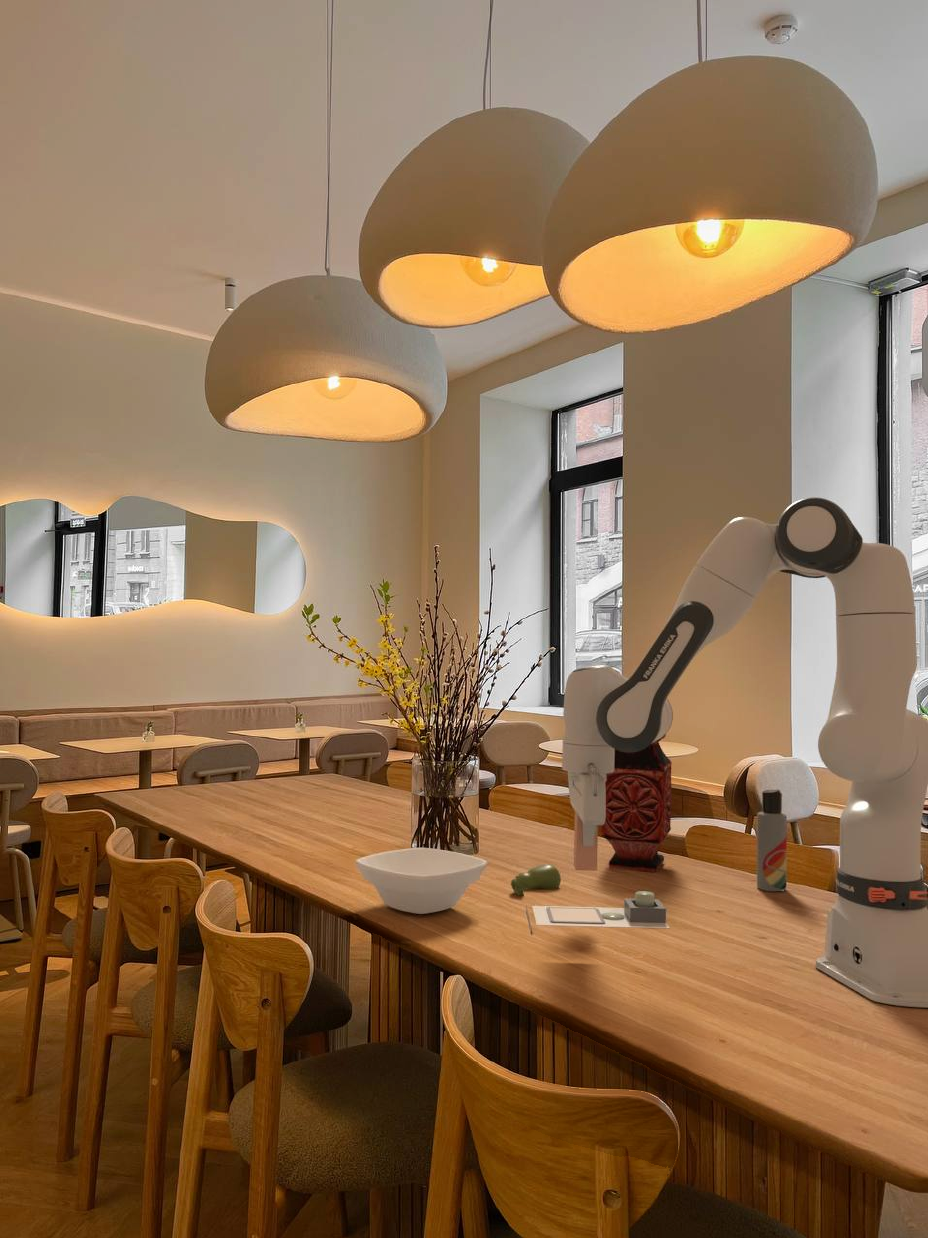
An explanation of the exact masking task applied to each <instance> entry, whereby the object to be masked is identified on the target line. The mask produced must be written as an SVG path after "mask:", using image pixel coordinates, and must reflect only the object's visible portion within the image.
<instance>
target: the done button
mask: <svg viewBox="0 0 928 1238" xmlns="http://www.w3.org/2000/svg"><path fill="white" fill-rule="evenodd" d="M634 895H635V898H634V899H635V906H642V907H654V899H655V893H654V892H651V891H647V890H646V891H645V890H644V891H642V890H641V891H636V892H635V894H634Z"/></svg>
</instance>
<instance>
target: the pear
mask: <svg viewBox="0 0 928 1238" xmlns="http://www.w3.org/2000/svg"><path fill="white" fill-rule="evenodd" d="M561 878H562V877H561V873H560V872H559V870H558V868H556V866H554V865H552V864H542V865H538V866H535V867H531V868H530V869H529V870H528V871H527V872H522V873H519V874H518V875H516V876H515V878H513V879H512V880H511V881H510V886H511V888H512V890H513V892H514V893H515V894H516V895H517V896H519V897H525V894H524V891H532V890H549V889H557V888H559V887H560V885H561V880H562V879H561Z"/></svg>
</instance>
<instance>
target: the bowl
mask: <svg viewBox="0 0 928 1238" xmlns="http://www.w3.org/2000/svg"><path fill="white" fill-rule="evenodd" d="M354 863H355V866H356V867H357V869H358V870H359V872H360V874H361V875H362V877H363V879H364V880H365V881H366V882H368V883H369V884H372V885H373V886H374V888H375V889H376V891H377V893H378V895H379V896H380V898H381V899H382V901H383V903H384V904H385V905H386V906H387V907H390V908H393V909H395V910H398V911H401V912H405V913H411V914H419V915H423V914H431V913H436V912H441V911H445V910H448V909H450V908H453V907H455V906H456V905H457V904H458V902H459V901H460V900H461V898H462V896H463V895H464V893H466V891H467V889H468V888H469V886H470V885H473V884H474V883H476V882H478V881H479V879H480V877H481V875H482V874H483V873H484V871H485V869H486V868H487V867H488V865H489V864H488V861H487V860H485V859H482V858H480V857H477V856H472V855H469V854H465V853H460V852H456V851H452V850H451V851H450V850H443V849H439V848H431V847H430V848H428V847H413V848H412V847H410V848H404V849H402V848H401V849H395V850H388V851H383V852H379V853H374V854H373V853H372V854H369V855H366V856H363V857H360V858H358V859H356V860H355V861H354Z"/></svg>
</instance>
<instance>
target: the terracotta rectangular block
mask: <svg viewBox="0 0 928 1238" xmlns="http://www.w3.org/2000/svg"><path fill="white" fill-rule="evenodd" d="M582 834H583V822H582V820H581V819H580V817H579V816H578V813H577V811H576V810H574V835H573V836H574V837H573V838H574V841H573V842H574V844H573V845H574V847H573V867H574V870H575V871H590V872H591V871H593V872H598V841H599V840H598V838H599V837H598V836H599V825H596V830H595V834H594V845H593V846H584V845H583V843H582Z"/></svg>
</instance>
